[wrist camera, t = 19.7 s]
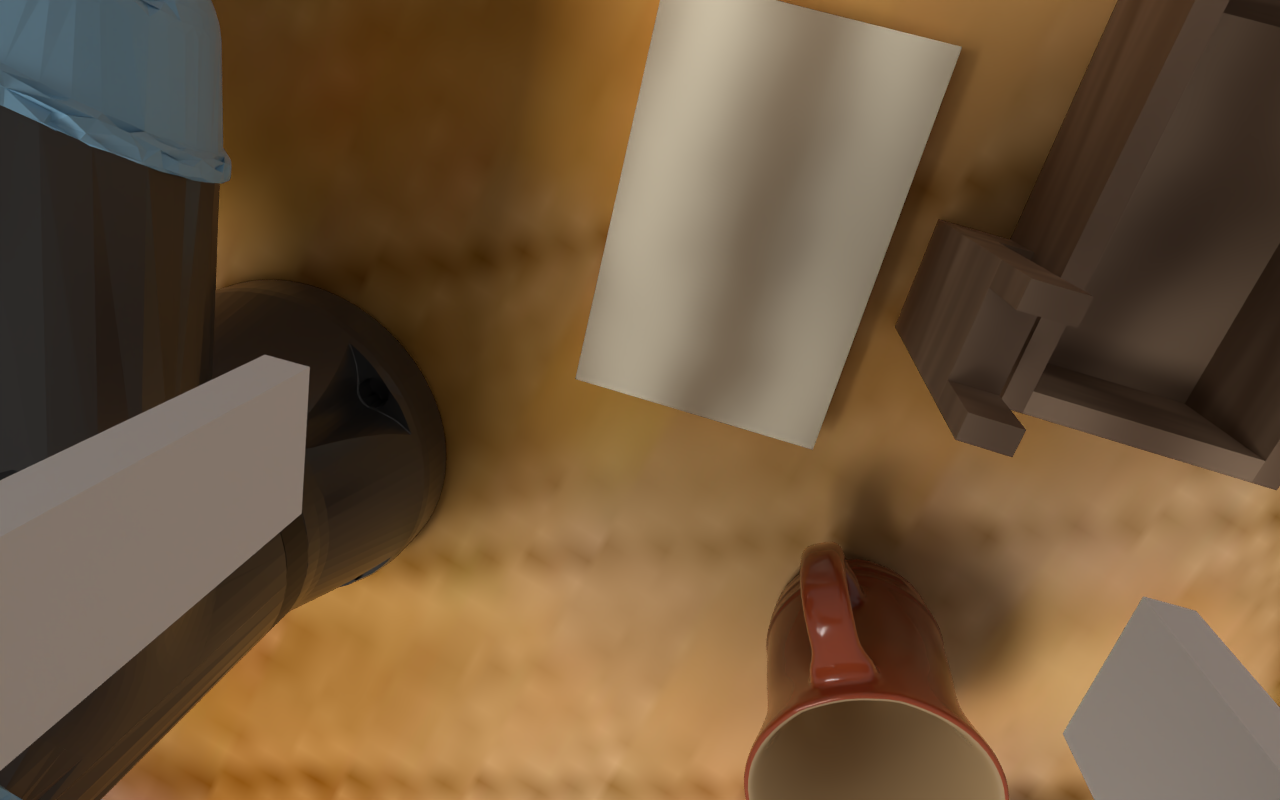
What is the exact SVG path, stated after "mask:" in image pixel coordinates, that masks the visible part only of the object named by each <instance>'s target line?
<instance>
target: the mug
mask: <svg viewBox="0 0 1280 800" xmlns="http://www.w3.org/2000/svg"><path fill="white" fill-rule="evenodd" d="M767 691H768V712H767V716H766V718H765V721H764V723H763V726H762V728H761V730H760V732H759V734H758V736H757V738H756V740H755V742H754V744H753V746H752V748H751V751H750V753H749V756H748V759H747V763H746V767H745V774H744V789H745V797H746V800H1009V793H1008V785H1007V781H1006V777H1005V774H1004V772H1003V769H1002V767H1001V765H1000V763H999V761H998V759H997V757H996V755H995V754H994V752H993V751H992V749H991V748H990V746H989V745H988V744H987V742H986V741H985V740H984V738H983V737H982V736H981V735H980V734H979V732H978V731H977V730H976V729H975V728H974V726H973V725H972V724H971V722H970V721H969V720H968V719H967V717H966V716H965V715H964V713H963V712H962V710H961V708H960V706H959V704H958V701H957V697H956V693H955V688H954V684H953V679H952V675H951V671H950V667H949V663H948V660H947V656H946V653H945V650H944V645H943V639H942V635H941V631H940V629H939V626H938V624H937V622H936V621H935V619H934V617H933V616H932V614H931V613H930V611H929V610H928V608H927V607H926V605H925V604H924V602H923V600H922V598H921V596H920V595H919V593H918V592H917V591H916V590H915V588H914V587H913V586H912V585H911V584H910V583H909V582H908V581H907V580H905V579H904V578H903V577H902V576H900V575H899V574H897V573H895V572H894V571H892V570H890V569H888V568H886V567H884V566H881V565H879V564H876V563H873V562H870V561H866V560H858V559H846V558H845V555H844V552H843V550H842V548H841V547H840V546H839V544H837V543H835V542H824V543H818V544H813V545H811V546H808V547H807V548H806V549H805V550H804V552H803V554H802V556H801V563H800V574H799V575H797V576H796V577H795V578H794V579H793V580H792V581H791V582H790V583H789V584H788V585H787V587H786V588H785V589H784V591H783V592H782V593H781V595H780V597H779V599H778V602H777V604H776V607H775V609H774V612H773V614H772V618H771V622H770V626H769V629H768V633H767Z"/></svg>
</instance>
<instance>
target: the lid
mask: <svg viewBox="0 0 1280 800" xmlns="http://www.w3.org/2000/svg"><path fill="white" fill-rule="evenodd" d="M961 48H962V47H961V46H957V45H953V44H949V43H945V42H941V41H937V40H933V39H929V38H925V37H921V36H917V35H913V34H909V33H905V32H901V31H897V30H893V29H889V28H885V27H881V26H877V25H873V24H869V23H865V22H861V21H857V20H853V19H849V18H845V17H841V16H837V15H833V14H829V13H825V12H821V11H817V10H813V9H809V8H805V7H801V6H797V5H793V4H789V3H785V2H781V1H777V0H660V3H659V8H658V12H657V17H656V21H655V26H654V30H653V34H652V39H651V43H650V48H649V52H648V57H647V61H646V66H645V70H644V75H643V79H642V84H641V88H640V93H639V97H638V101H637V106H636V110H635V115H634V119H633V124H632V128H631V133H630V137H629V142H628V146H627V151H626V155H625V160H624V164H623V168H622V173H621V177H620V182H619V186H618V191H617V195H616V200H615V204H614V209H613V213H612V218H611V222H610V227H609V231H608V236H607V240H606V244H605V249H604V253H603V258H602V262H601V267H600V271H599V276H598V280H597V285H596V289H595V294H594V298H593V303H592V307H591V311H590V316H589V320H588V325H587V329H586V334H585V338H584V343H583V347H582V352H581V356H580V361H579V365H578V370H577V374H576V378H575V379H577V380H581V381H584V382H587V383H591V384H594V385H598V386H601V387H604V388H608V389H611V390H614V391H618V392H621V393H624V394H628V395H631V396H634V397H638V398H641V399H644V400H648V401H651V402H654V403H658V404H661V405H665V406H668V407H671V408H675V409H678V410H681V411H685V412H688V413H691V414H695V415H698V416H701V417H705V418H708V419H711V420H715V421H718V422H721V423H725V424H728V425H732V426H735V427H738V428H742V429H745V430H748V431H752V432H755V433H758V434H762V435H765V436H768V437H772V438H775V439H778V440H782V441H785V442H788V443H792V444H795V445H799V446H802V447H805V448H809V449H812V450H813V447H814V445H815V442H816V439H817V437H818V434H819V431H820V429H821V426H822V423H823V421H824V418H825V415H826V412H827V410H828V407H829V404H830V402H831V399H832V396H833V394H834V391H835V388H836V385H837V383H838V380H839V377H840V375H841V372H842V369H843V367H844V364H845V361H846V359H847V356H848V353H849V350H850V348H851V345H852V342H853V340H854V337H855V334H856V332H857V329H858V326H859V323H860V321H861V318H862V315H863V313H864V310H865V307H866V305H867V302H868V299H869V297H870V294H871V291H872V288H873V286H874V283H875V280H876V278H877V275H878V272H879V270H880V267H881V264H882V261H883V259H884V256H885V253H886V251H887V248H888V245H889V243H890V240H891V237H892V234H893V232H894V229H895V226H896V224H897V221H898V218H899V216H900V213H901V210H902V208H903V205H904V202H905V199H906V197H907V194H908V191H909V189H910V186H911V183H912V181H913V178H914V175H915V172H916V170H917V167H918V164H919V162H920V159H921V156H922V154H923V151H924V148H925V146H926V143H927V140H928V137H929V135H930V132H931V129H932V127H933V124H934V121H935V119H936V116H937V113H938V110H939V108H940V105H941V102H942V100H943V97H944V94H945V92H946V89H947V86H948V84H949V81H950V78H951V75H952V73H953V70H954V67H955V65H956V62H957V59H958V57H959V54H960V51H961Z"/></svg>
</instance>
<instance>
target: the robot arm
mask: <svg viewBox="0 0 1280 800" xmlns="http://www.w3.org/2000/svg"><path fill="white" fill-rule="evenodd" d="M231 167H232V166H231V160H230V158H229V156H228V154H227V153H226V151H225V150H224V148H223V106H222V40H221V32H220V24H219V21H218V18H217V14H216V11H215V8H214V6H213V3H212V1H211V0H0V800H101V799H102V798H103V797H104V796H105V795H106V794H107V793H108V792H109V791H110V790H111V789H112V788H113V787H114V786H115V785H116V784H117V783H118V782H119V781H120V780H121V779H122V778H123V777H124V776H125V775H126V774H127V773H128V772H129V771H130V770H131V769H132V768H133V767H134V766H135V765H136V764H137V763H138V762H139V761H140V760H141V759H142V758H143V757H144V756H145V755H146V754H147V753H148V752H149V751H150V750H151V749H152V748H153V747H154V746H155V745H156V744H157V743H158V742H159V741H160V740H161V739H162V738H163V737H164V736H165V735H166V734H167V733H168V732H169V731H170V730H171V729H172V728H173V727H174V726H175V725H176V724H177V723H178V722H179V721H180V720H181V719H182V718H183V717H184V716H185V715H186V714H187V713H188V712H189V711H190V710H191V709H192V708H193V707H194V706H195V705H196V704H197V703H198V702H199V701H200V700H201V699H202V698H203V697H204V696H205V695H206V694H207V693H208V692H209V691H210V690H211V689H212V688H213V687H214V686H215V685H216V684H217V683H218V682H219V681H220V680H221V679H222V678H223V677H224V676H225V675H226V674H227V673H228V672H229V671H230V670H231V669H232V668H233V667H234V666H235V665H236V664H237V663H238V662H239V661H240V660H241V659H242V658H243V657H244V656H245V655H246V654H247V653H248V652H249V651H250V650H251V649H252V648H253V647H254V646H255V645H256V644H257V643H258V642H259V641H260V640H261V639H262V638H263V637H264V636H265V635H266V634H267V633H268V632H269V631H270V630H271V629H272V628H273V627H274V626H275V625H276V624H277V623H278V622H279V621H280V620H281V619H282V618H283V617H284V616H285V615H286V614H287V613H288V612H289V611H291V610H293V609H295V608H297V607H299V606H301V605H303V604H305V603H307V602H309V601H312V600H314V599H316V598H318V597H320V596H322V595H324V594H326V593H328V592H330V591H332V590H334V589H336V588H338V587H342V586H345V585H349V584H351V583H354V582H356V581H359V580H361V579H363V578H365V577H368V576H370V575H372V574H373V573H375V572H377V571H378V570H380V569H381V568H383V567H384V566H385V565H387V564H388V563H390V562H391V561H392V560H393V559H394V558H395V557H397V556H398V555H399V554H400V553H401V551H402V550H403V549H404V548H405V547H406V546H407V545H408V544H409V543H410V542H411V540H412V539H413V538H414V537H415V536H416V535H417V534H418V533H419V532H420V530H421V529H422V528H423V527H424V525H425V524H426V523H427V521H428V520H429V518H430V517H431V515H432V513H433V511H434V509H435V507H436V505H437V502H438V500H439V497H440V494H441V491H442V487H443V483H444V478H445V470H446V444H445V436H444V430H443V425H442V421H441V417H440V414H439V411H438V408H437V405H436V402H435V399H434V397H433V395H432V392H431V390H430V388H429V386H428V384H427V382H426V380H425V378H424V377H423V375H422V373H421V371H420V370H419V368H418V367H417V365H416V364H415V362H414V361H413V359H412V358H411V357H410V355H409V354H408V353H407V351H406V350H405V349H404V348H403V347H402V345H401V344H400V343H399V342H398V341H397V340H396V339H395V338H394V337H393V336H392V335H391V334H390V333H389V332H388V331H387V330H386V329H385V328H384V327H383V326H382V325H381V324H380V323H378V322H377V321H376V320H375V319H373V318H372V317H371V316H370V315H368V314H367V313H365V312H364V311H362V310H361V309H360V308H358V307H356V306H355V305H353V304H351V303H350V302H348V301H346V300H344V299H342V298H340V297H339V296H337V295H334V294H332V293H330V292H327V291H325V290H322V289H319V288H316V287H313V286H310V285H306V284H302V283H297V282H292V281H284V280H255V281H248V282H243V283H239V284H235V285H232V286H228V287H225V288H222V289H218V290H216V264H217V237H218V210H219V191H220V183H224V182H226V181H229V180H230V178H231ZM1063 735H1064V737H1065V739H1066V741H1067V744H1068V746H1069V748H1070V750H1071V752H1072V754H1073V756H1074V758H1075V760H1076V762H1077V765H1078V767H1079V769H1080V771H1081V773H1082V775H1083V777H1084V779H1085V781H1086V783H1087V785H1088V788H1089V790H1090V792H1091V794H1092V796H1093V798H1094V800H1280V708H1279V706H1278V705H1277V704H1276V703H1275V702H1274V701H1273V699H1272V698H1271V697H1270V696H1269V695H1268V694H1267V693H1266V691H1265V690H1264V689H1263V688H1262V687H1261V686H1260V684H1259V683H1258V682H1257V681H1256V680H1255V679H1254V677H1253V676H1252V675H1251V674H1250V673H1249V672H1248V671H1247V669H1246V668H1245V667H1244V666H1243V665H1242V664H1241V662H1240V661H1239V660H1238V659H1237V658H1236V657H1235V656H1234V654H1233V653H1232V652H1231V651H1230V650H1229V649H1228V647H1227V646H1226V645H1225V644H1224V643H1223V642H1222V640H1221V639H1220V638H1219V637H1218V636H1217V635H1216V634H1215V632H1214V631H1213V630H1212V629H1211V628H1210V627H1209V625H1208V624H1207V623H1206V622H1205V621H1204V620H1203V618H1202V617H1201V616H1200V615H1199V614H1198V613H1197V612H1196V611H1194V610H1191V609H1187V608H1184V607H1180V606H1176V605H1173V604H1169V603H1165V602H1162V601H1158V600H1154V599H1151V598H1147V597H1144V596H1143V598H1142V599H1141V601H1140V603H1139V605H1138V606H1137V608H1136V610H1135V611H1134V613H1133V615H1132V617H1131V618H1130V620H1129V622H1128V623H1127V625H1126V627H1125V628H1124V630H1123V632H1122V634H1121V635H1120V637H1119V639H1118V640H1117V642H1116V644H1115V645H1114V647H1113V649H1112V651H1111V652H1110V654H1109V656H1108V657H1107V659H1106V661H1105V662H1104V664H1103V666H1102V668H1101V669H1100V671H1099V673H1098V674H1097V676H1096V678H1095V679H1094V681H1093V683H1092V685H1091V686H1090V688H1089V690H1088V691H1087V693H1086V695H1085V697H1084V698H1083V700H1082V702H1081V703H1080V705H1079V707H1078V708H1077V710H1076V712H1075V714H1074V715H1073V717H1072V719H1071V720H1070V722H1069V724H1068V725H1067V727H1066V729H1065V731H1064V732H1063Z"/></svg>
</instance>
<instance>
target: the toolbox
mask: <svg viewBox="0 0 1280 800" xmlns="http://www.w3.org/2000/svg"><path fill="white" fill-rule="evenodd" d="M895 328H896V330H897V331H898V333H899V335H900V337H901V339H902V341H903V343H904V345H905V346H906V348H907V350H908V352H909V354H910V356H911V358H912V360H913V361H914V363H915V365H916V367H917V369H918V371H919V373H920V375H921V376H922V378H923V380H924V382H925V384H926V386H927V388H928V389H929V391H930V393H931V395H932V397H933V399H934V401H935V403H936V404H937V406H938V408H939V410H940V412H941V414H942V416H943V418H944V419H945V421H946V423H947V425H948V427H949V429H950V431H951V433H952V434H953V436H954V438H955V440H958V441H961V442H964V443H968V444H971V445H974V446H977V447H981V448H984V449H987V450H990V451H994V452H997V453H1000V454H1004V455H1007V456H1010V457H1013V455H1014V453H1015V451H1016V449H1017V447H1018V445H1019V443H1020V441H1021V439H1022V437H1023V435H1024V433H1025V431H1026V429H1025V428H1024V427H1023V426H1022V424H1021V423H1020V422H1019V420H1018V419H1017V418H1016V417H1015V415H1014V414H1013V413H1012V411H1011V410H1013V411H1016V412H1020V413H1023V414H1026V415H1030V416H1033V417H1036V418H1040V419H1043V420H1046V421H1049V422H1053V423H1056V424H1059V425H1063V426H1066V427H1069V428H1073V429H1076V430H1079V431H1082V432H1086V433H1089V434H1092V435H1096V436H1099V437H1102V438H1106V439H1109V440H1112V441H1116V442H1119V443H1122V444H1125V445H1129V446H1132V447H1135V448H1139V449H1142V450H1145V451H1149V452H1152V453H1155V454H1158V455H1162V456H1165V457H1168V458H1172V459H1175V460H1178V461H1182V462H1185V463H1188V464H1191V465H1195V466H1198V467H1201V468H1205V469H1208V470H1211V471H1215V472H1218V473H1221V474H1225V475H1228V476H1231V477H1234V478H1238V479H1241V480H1244V481H1248V482H1251V483H1254V484H1258V485H1261V486H1264V487H1267V488H1271V489H1274V490H1277V489H1278V488H1279V486H1280V0H1118V1H1117V4H1116V6H1115V8H1114V10H1113V12H1112V15H1111V17H1110V19H1109V21H1108V24H1107V26H1106V28H1105V30H1104V32H1103V35H1102V37H1101V39H1100V41H1099V44H1098V46H1097V48H1096V50H1095V52H1094V55H1093V57H1092V59H1091V61H1090V64H1089V66H1088V68H1087V70H1086V73H1085V75H1084V77H1083V79H1082V81H1081V84H1080V86H1079V88H1078V90H1077V93H1076V95H1075V97H1074V99H1073V101H1072V104H1071V106H1070V108H1069V110H1068V113H1067V115H1066V117H1065V119H1064V121H1063V124H1062V126H1061V128H1060V130H1059V133H1058V135H1057V137H1056V139H1055V141H1054V144H1053V146H1052V148H1051V150H1050V153H1049V155H1048V157H1047V159H1046V161H1045V164H1044V166H1043V168H1042V170H1041V173H1040V175H1039V177H1038V179H1037V181H1036V184H1035V186H1034V188H1033V190H1032V193H1031V195H1030V197H1029V199H1028V201H1027V204H1026V206H1025V208H1024V210H1023V213H1022V215H1021V217H1020V219H1019V221H1018V224H1017V226H1016V228H1015V230H1014V233H1013V235H1012V237H1011V239H1010V240H1009V239H1006V238H1002V237H999V236H995V235H992V234H988V233H985V232H981V231H978V230H974V229H971V228H967V227H964V226H960V225H957V224H953V223H950V222H946V221H943V220H938V223H937V225H936V227H935V230H934V232H933V235H932V237H931V240H930V242H929V245H928V247H927V249H926V252H925V254H924V257H923V259H922V262H921V264H920V267H919V269H918V272H917V274H916V276H915V279H914V281H913V284H912V286H911V289H910V291H909V294H908V296H907V298H906V301H905V303H904V306H903V308H902V311H901V313H900V316H899V318H898V321H897V323H896V325H895Z"/></svg>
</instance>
